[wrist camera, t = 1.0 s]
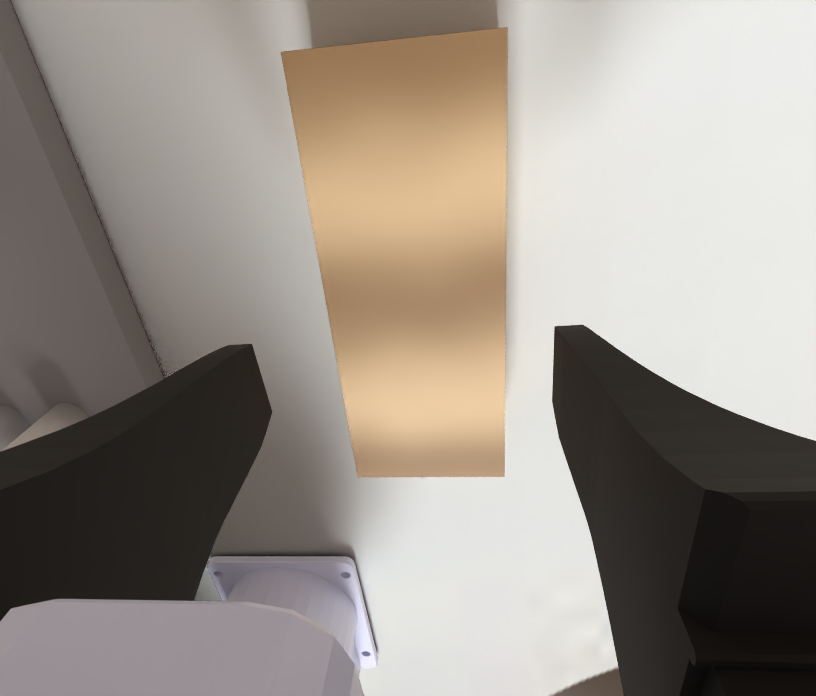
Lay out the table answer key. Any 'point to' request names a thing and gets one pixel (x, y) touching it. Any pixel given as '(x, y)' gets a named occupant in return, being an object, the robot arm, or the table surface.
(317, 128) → the shelf board
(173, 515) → the robot arm
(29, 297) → the peg stand
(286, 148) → the table surface
